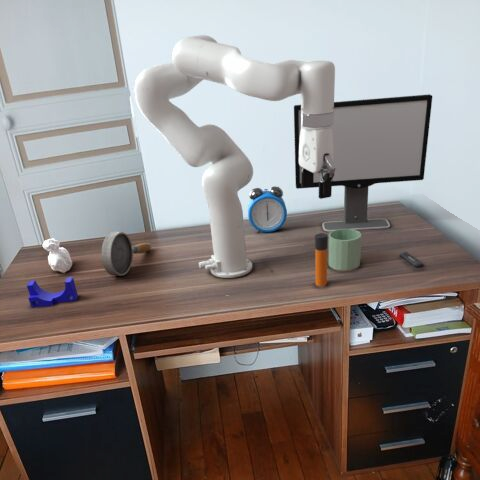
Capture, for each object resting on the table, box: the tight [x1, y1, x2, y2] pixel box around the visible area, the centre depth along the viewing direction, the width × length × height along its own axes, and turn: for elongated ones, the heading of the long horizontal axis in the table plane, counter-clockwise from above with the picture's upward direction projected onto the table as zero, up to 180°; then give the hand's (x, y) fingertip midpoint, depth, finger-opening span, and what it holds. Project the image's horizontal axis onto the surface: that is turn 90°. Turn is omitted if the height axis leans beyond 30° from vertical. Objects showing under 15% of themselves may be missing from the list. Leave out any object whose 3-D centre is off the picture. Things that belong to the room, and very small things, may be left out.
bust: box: [41, 237, 73, 274], centre depth 159 cm, size 12×8×11 cm
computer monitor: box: [293, 93, 433, 233], centre depth 163 cm, size 41×8×40 cm, turn 88°
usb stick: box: [399, 251, 424, 269], centre depth 144 cm, size 10×3×2 cm, turn 13°
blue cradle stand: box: [26, 276, 79, 308], centre depth 140 cm, size 12×4×6 cm, turn 92°
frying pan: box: [100, 231, 152, 277], centre depth 157 cm, size 13×3×25 cm
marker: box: [314, 232, 329, 287], centre depth 134 cm, size 3×3×14 cm
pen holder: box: [327, 229, 362, 271], centre depth 145 cm, size 9×9×10 cm
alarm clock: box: [247, 185, 288, 234], centre depth 172 cm, size 13×6×15 cm, turn 91°
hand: (315, 192), depth 127 cm, fingers open, 9 cm apart
